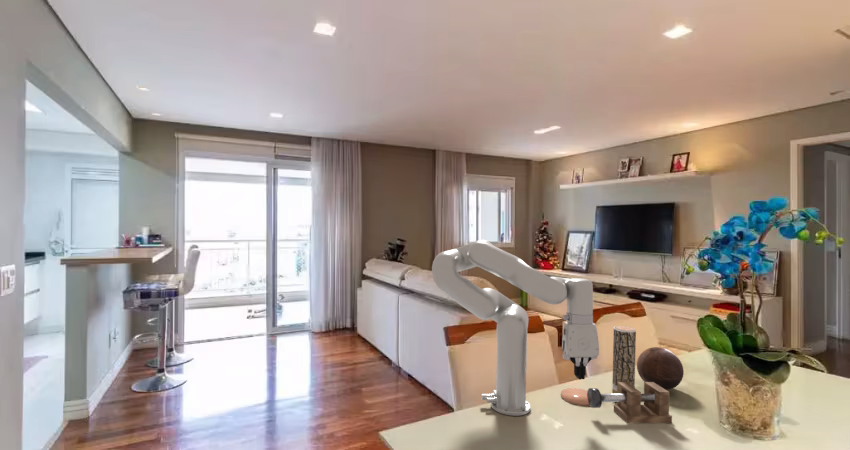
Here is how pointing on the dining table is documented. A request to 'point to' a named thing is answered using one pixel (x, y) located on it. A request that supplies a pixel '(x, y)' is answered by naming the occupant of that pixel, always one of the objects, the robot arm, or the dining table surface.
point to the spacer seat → (575, 396)
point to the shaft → (612, 397)
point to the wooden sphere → (660, 367)
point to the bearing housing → (648, 411)
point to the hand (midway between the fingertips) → (579, 377)
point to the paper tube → (623, 356)
